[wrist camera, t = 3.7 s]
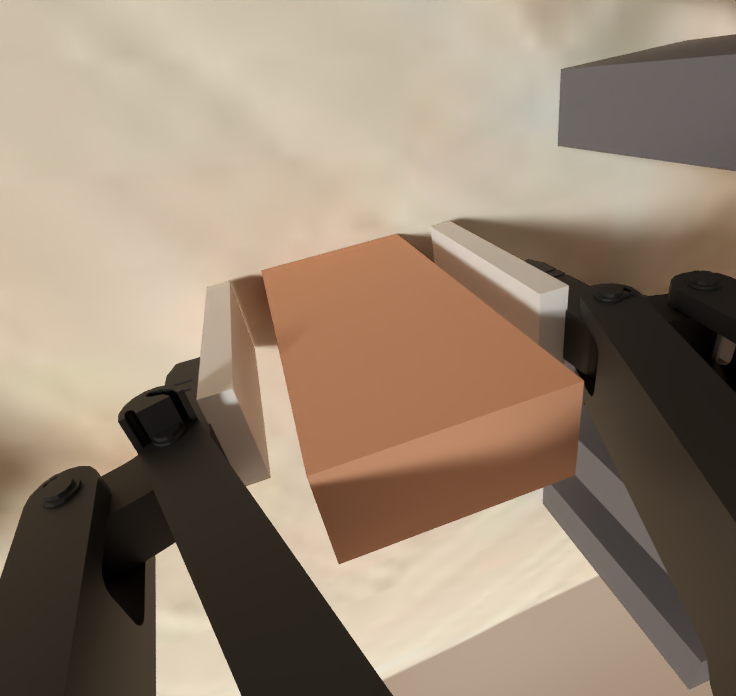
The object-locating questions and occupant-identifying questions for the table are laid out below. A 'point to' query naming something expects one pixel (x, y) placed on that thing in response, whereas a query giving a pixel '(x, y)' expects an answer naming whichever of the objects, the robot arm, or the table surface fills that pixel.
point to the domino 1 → (413, 395)
